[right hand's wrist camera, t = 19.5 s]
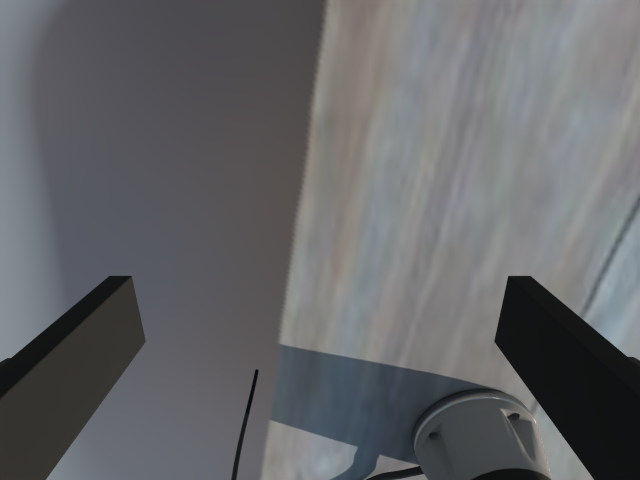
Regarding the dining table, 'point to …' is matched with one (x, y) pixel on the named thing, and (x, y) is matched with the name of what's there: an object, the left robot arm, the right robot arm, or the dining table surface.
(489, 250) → the dining table surface
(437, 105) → the dining table surface
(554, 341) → the right robot arm
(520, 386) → the dining table surface
